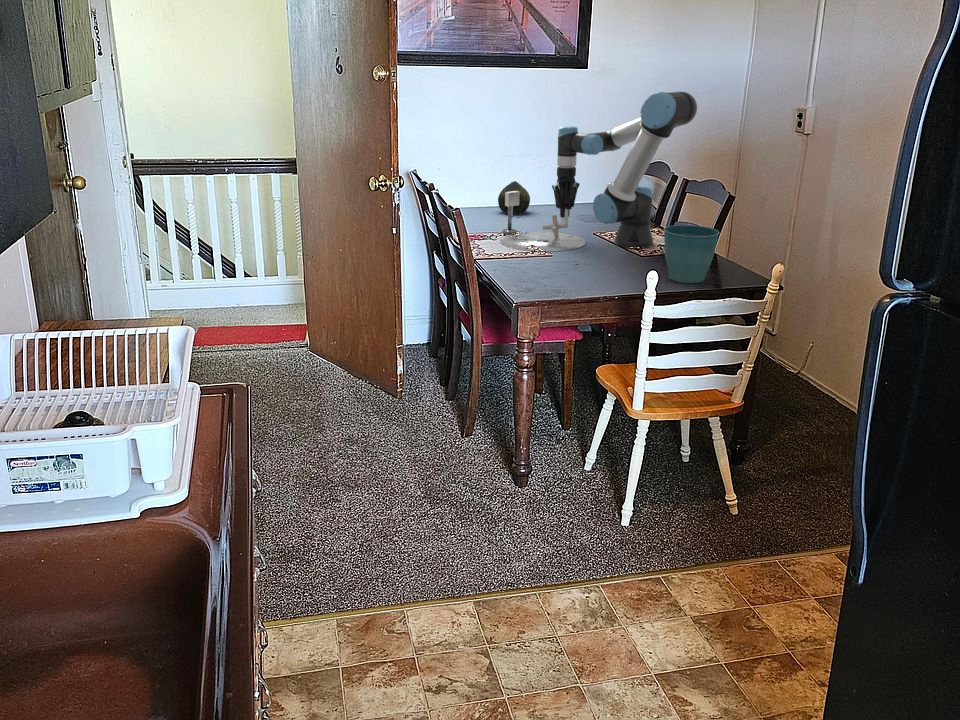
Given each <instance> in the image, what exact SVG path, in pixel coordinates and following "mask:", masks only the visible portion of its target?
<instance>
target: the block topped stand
mask: <svg viewBox="0 0 960 720" xmlns="http://www.w3.org/2000/svg"><path fill="white" fill-rule="evenodd" d="M519 195H520V192H519V191H511V192H505V206H508V213H507V228H504V229H502V231H501V232H503V233H502V234H504V233H507V234H506V235H511V234H510V233H516V232H517V229H515V228H512V226H513V222H512V219H513V218H514V217H513V216H514V215H513V214H514V211H513V206H517V205H519ZM516 234H517V233H516Z"/></svg>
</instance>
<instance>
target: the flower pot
mask: <svg viewBox="0 0 960 720" xmlns="http://www.w3.org/2000/svg"><path fill="white" fill-rule="evenodd" d="M663 232H664V247H663V248H664V257H665V262H666V265H667V270H668V278H669V279H670V280H671V281H674V282H678V283H683V284H697V283H702V282H704V281H705V279H706V275H707V272H708V270H709V268H710V266H711V264H712V261H713V259H714V256H715V252H716V249H717V248H716V247H717V242H718V239H719V236H720V231H719V230H718V229H715V228H713V227H710V226H709V227H708V226H702V225H691V224H677V225H676V224H674V225H668V226H666V227H664V228H663Z"/></svg>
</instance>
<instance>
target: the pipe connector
mask: <svg viewBox="0 0 960 720" xmlns="http://www.w3.org/2000/svg"><path fill="white" fill-rule="evenodd" d="M551 218H552V219H551V220H552V224H545V225H542V230H543V231H545V230H552V232H554V239H559V235H558V233H559V230H560V229H568V228H569V222H568V223H567V224H561V223H560V222H559V220H558V217H557V213H554V214H553V213H552V215H551Z"/></svg>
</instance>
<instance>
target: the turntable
mask: <svg viewBox="0 0 960 720" xmlns="http://www.w3.org/2000/svg"><path fill="white" fill-rule="evenodd" d="M516 234H517V233H516ZM516 234H514V235H516ZM514 235H512V234H507V235H506V236H502V238H500V243H501V244H502V245H503V246H505V245H506V246H505V247H507V246H508V247H507V248H510V247H512V248H511V249H514V248H517V249H516V250H519V249H523V250H522V251H526V250H528V249H529V248H528V247H526V246H530V245H535V246H537V247H539V248H540V249H541V250H543V251H549V253H551V252H564V251H565V252H567V251H572V250H576V249H580V248H582V247H583V246H585V244H586V240H584V238H582V237H580V236H577V235H573V234H568V233H562V232H558V235H559V239H554V232H553V231H552V232H551V231H527V232H519V236H518V235H516V236H518V237H519V238H516V236H514ZM511 236H512V237H511ZM518 240H519V241H518ZM517 242H518V243H517ZM526 248H528V249H526Z"/></svg>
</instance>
